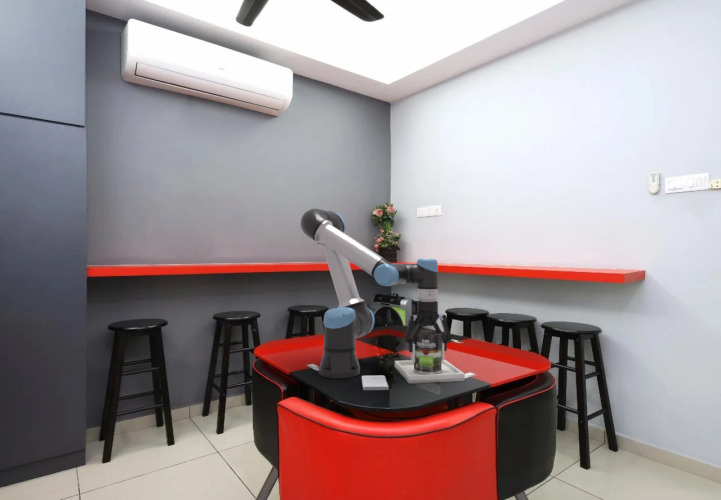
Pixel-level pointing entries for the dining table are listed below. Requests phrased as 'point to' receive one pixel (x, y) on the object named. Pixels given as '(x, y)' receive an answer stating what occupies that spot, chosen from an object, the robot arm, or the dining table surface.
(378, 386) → the external hard drive
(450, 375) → the tray
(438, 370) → the coffee can
